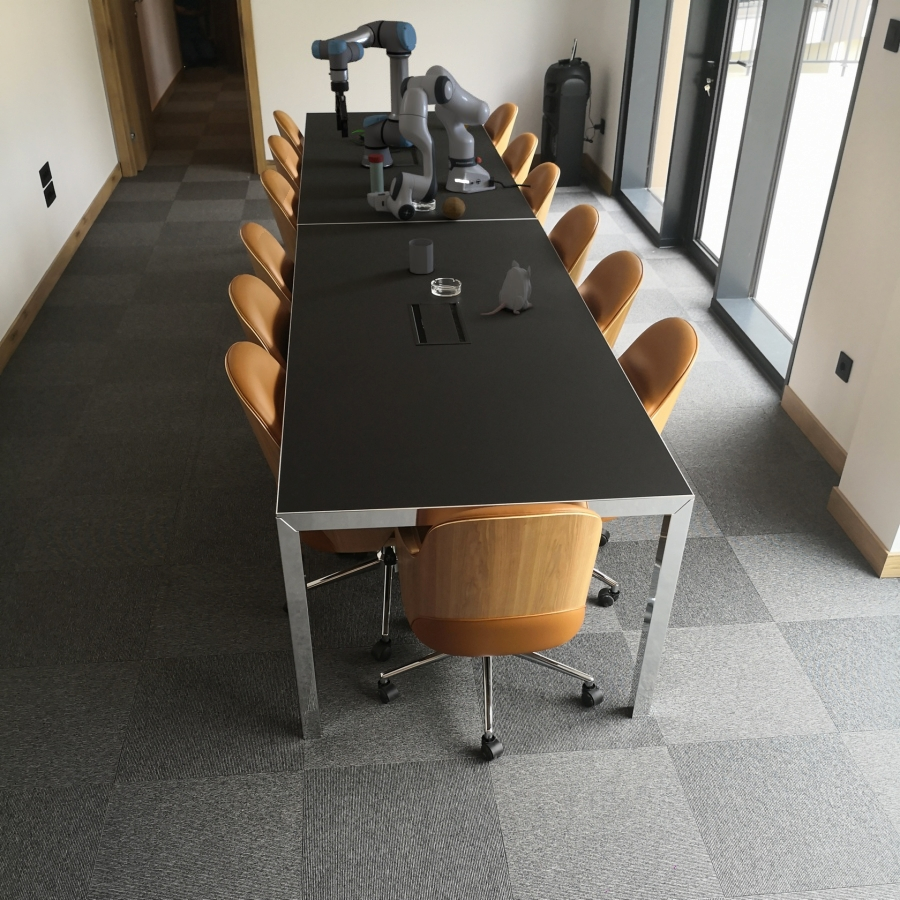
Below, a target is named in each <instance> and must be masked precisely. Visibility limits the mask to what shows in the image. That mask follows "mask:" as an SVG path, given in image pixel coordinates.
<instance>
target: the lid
mask: <svg viewBox="0 0 900 900" xmlns="http://www.w3.org/2000/svg"><path fill="white" fill-rule="evenodd" d="M369 162H371V163H381V162H383V155H382V154H371V155H369Z"/></svg>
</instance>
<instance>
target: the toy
mask: <svg viewBox="0 0 900 900" xmlns="http://www.w3.org/2000/svg"><path fill="white" fill-rule="evenodd" d="M531 272H532V271H531V265H530V264H529V265H528V267H527V270H526V269H525V268H522V267H520V264H519V263H518V261H517V260H515V259H513V260H512V263H511V268H510V269H509V270H508V271H507V273H506V275H505V277H504V280H503V283H502V285H501V286H502V287H501V289H500V290H499V293H498V302H499V303H498V304H499V306H498V307H496V308H495V309H494V310H493V311H490V312H486V313H481V315H483V316H490V315H491V316H492V315H494V314H496V313H498V312H500V311H501V310H504V309H505V308H507V309H509V310H512V311H513V314H516V315H519V314H521V313H520V311H519V310H521V309H522V310H527V309H529V308H533V304H532V303H530V302H529V299H530V298H531V294H532V285H531V282H530V281H531V280H530V279H531V275H532V273H531Z"/></svg>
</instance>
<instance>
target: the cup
mask: <svg viewBox="0 0 900 900" xmlns="http://www.w3.org/2000/svg"><path fill="white" fill-rule="evenodd" d="M408 253H409V272H411V273H412V274H416V275H426V274H430V273H432V272H434V241H433V240H431V239H428V238H422V237H421V238H420V237H419V238H414V239H411V240H410V241H409V242H408Z"/></svg>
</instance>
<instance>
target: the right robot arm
mask: <svg viewBox="0 0 900 900" xmlns="http://www.w3.org/2000/svg"><path fill="white" fill-rule="evenodd" d="M400 93H401V97H402V103H401V108H400V115H399V130H400V133H401V134H402V136H403V137H404V138H405V139H406V140H407V141H408V142H410V143H412V144H413V145H412V146H415V147H416V148H417V149H418V150H419V151H420V153H421V154H422V155H421V156H422V164H423V166H422V167H423V175H419V174H414V173H409V172H404V171H399V172H397V173H396V174H395V175H394V176H393V177H392V179H391V182H390V185H389V190H387V191H384V192H378V191H375V193H371V192H369V193H367V194H366V198H367V199H366V200H367V203H368V204H369V206H370V207H372V208H374V209H375V211H376V212H387V213H391V214H392V215H393V216H394V217H395V218H397V219H398V220H400V221H401V222H402V221H403V222H405V221H410V220H411V219H413V218H414V217H415V215H416V208H415V204H414V203H415V202H416V201H418V202H422V203H425V204H428V203H430V202H432V201H433V200H435V198H436V197H437V195H438V181H437V173H436V150H435V140H434V138H433V135H432V134H430V131H429V129H428V113H429V106H434V113H435V116H436V118H437V119H438V120H439V121H440V122H441V124H442V125H443V127H444V128H445V131H446V133H447V137H448V152H449V153H448V157H447V169H448V175H447V179H446V185H445V189H446V190H448V191H451V192H456V193H462V194H463V193H464V194H473V193H479V192H485V191H491V190H495V189H496V184H500V185H501V186H502V187H503V188H504V189H509V188H514V187H523V188H531V187H532V185H530V184H521V183H515V184H510V185H505V184H504V182H502V181H500V180H495V176H490V173H489V172H488V171H487V170H486V169H485V168H483V167H482V166H481V165H480V164H481V162H482V158H480V157H479V156H476V155H475V139H474V136H473V134H472V133H470V132H469V131H468V130H467V129H465V126H464V124H465V125H469V126H472V127H475V126H483V125H485V124H486V123H487V122H488V120H489V118H490V114H491V109H490V105H489V104H488V103H487V102H486V101H485V100H482V99H480V98H478V97H476V96H475V95H473V94H471V93H470V92H469V91H467V90H466V89H464V88H463V87H462V86H461V85H460V83H459V82H458V81H457V79H456V78H455V77H454V76H453V75H452V73H451V72H449V70H447V69H446V68H445V67H443V66H442V65H438V64H435V65H431V66H430V67H429V68H428V69H427V70H426V72H425V75H415V76H414V75H409V77H407V78H405V79H404V80H403V82H402V83H401V87H400Z"/></svg>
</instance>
